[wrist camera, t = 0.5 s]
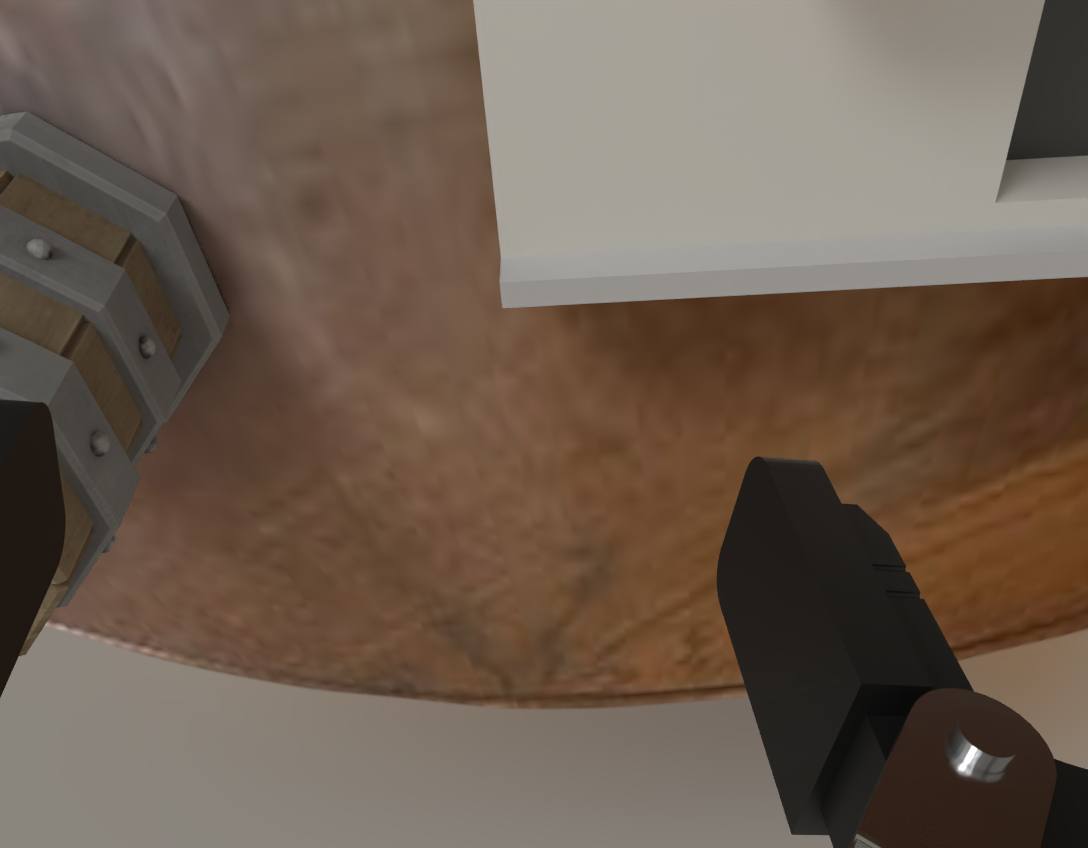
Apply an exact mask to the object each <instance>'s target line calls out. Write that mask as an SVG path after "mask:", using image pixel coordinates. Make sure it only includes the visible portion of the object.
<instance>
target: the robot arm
mask: <svg viewBox="0 0 1088 848" xmlns="http://www.w3.org/2000/svg"><path fill="white" fill-rule="evenodd" d="M65 529H66V515H65V506H64V499H63V492H62V485H61V477H60V470H59V463H58V456H57V449H56V442H55V435H54V428H53V421H52V416H51V413H50V410H49V408H48V406H47V405H46V404H45V403H43V402H31V401H17V400H3V399H0V697H1V695H2V692H3V690H4V688H5V685H6V683H7V681H8V679H9V677H10V674H11V672H12V670H13V668H14V665H15V663H16V660H17V659H18V656H19V654H20V652H21V650H22V647H23V645H24V643H25V641H26V638H27V636H28V634H29V632H30V629H31V627H32V625H33V623H34V620H35V618H36V616H37V614H38V611H39V609H40V607H41V605H42V602H43V600H44V598H45V596H46V593H47V591H48V589H49V587H50V584H51V582H52V580H53V577H54V575H55V573H56V571H57V568H58V566H59V563H60V559H61V556H62V551H63V546H64V539H65ZM905 568H906V565H905V563H904V562H903V560H902V558H901V556H900V554H899V552H898V551H897V549H896V547H895V545H894V543H893V541H892V539H891V538H890V536H889V534H888V533H887V532H886V531H885V530H884V529H883V528H882V527H881V526H879V525H878V524H877V523H876V522H875V521H874V520H873V519H872V518H871V517H870V516H869V515H868V514H867V513H865V512H864V511H863V510H862V509H861V508H860V507H859V506H858V505H853V504H841V502H840V500H839V498H838V496H837V494H836V492H835V490H834V488H833V486H832V484H831V482H830V480H829V478H828V476H827V474H826V472H825V470H824V468H823V467H822V465H821V464H820V463H819V462H817V461H811V460H797V459H784V458H770V457H755V458H754V459H753V460H752V461H751V462H750V464H749V466H748V467H747V470H746V473H745V476H744V479H743V482H742V485H741V488H740V491H739V494H738V498H737V501H736V504H735V507H734V510H733V513H732V516H731V519H730V523H729V526H728V529H727V532H726V535H725V538H724V541H723V544H722V548H721V551H720V555H719V560H718V567H717V591H718V598H719V603H720V606H721V610H722V613H723V616H724V619H725V622H726V626H727V629H728V632H729V635H730V638H731V642H732V645H733V648H734V651H735V654H736V658H737V661H738V664H739V667H740V670H741V674H742V677H743V680H744V683H745V687H746V690H747V693H748V696H749V699H750V702H751V706H752V709H753V712H754V715H755V718H756V722H757V725H758V728H759V731H760V735H761V738H762V741H763V744H764V747H765V751H766V754H767V757H768V760H769V763H770V767H771V770H772V773H773V776H774V779H775V783H776V786H777V789H778V792H779V795H780V799H781V802H782V805H783V808H784V811H785V815H786V818H787V821H788V824H789V827H790V830H791V834H792V835H829V836H830V838H831V842H832V844H833V847H834V848H1088V770H1087V769H1084V768H1080V767H1077V766H1074V765H1071V764H1067V763H1064V762H1062V761H1059V760H1056V759H1054V758H1053V755H1052V753H1051V751H1050V749H1049V747H1048V745H1047V744H1046V742H1045V741H1044V739H1043V738H1042V737H1041V735H1040V734H1039V733H1038V732H1037V731H1036V730H1035V729H1034V728H1033V726H1032V725H1031V724H1030V723H1029V722H1027V721H1026V720H1025V719H1024V718H1023V717H1022V716H1020V715H1019V714H1018V713H1016V712H1015V711H1014V710H1012V709H1011V708H1009V707H1007V706H1006V705H1004V704H1002V703H1001V702H999V701H997V700H995V699H992V698H990V697H988V696H986V695H983V694H980V693H977V692H974V691H973V689H972V687H971V685H970V683H969V681H968V680H967V678H966V676H965V674H964V672H963V671H962V669H961V667H960V665H959V663H958V661H957V659H956V657H955V656H954V654H953V652H952V650H951V648H950V646H949V644H948V643H947V641H946V639H945V637H944V635H943V633H942V632H941V630H940V628H939V626H938V624H937V622H936V621H935V619H934V617H933V615H932V613H931V611H930V609H929V608H928V606H927V604H926V602H925V600H924V599H920V591H919V589H918V587H917V586H916V584H915V582H914V580H913V578H912V576H911V574H910V573H909V572H906V571H905Z"/></svg>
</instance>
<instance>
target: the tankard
mask: <svg viewBox="0 0 1088 848" xmlns="http://www.w3.org/2000/svg"><path fill="white" fill-rule="evenodd" d="M229 318H230V315H229V313H228V311H227V308H226V306H225V304H224V302H223V299H222V297H221V295H220V292H219V290H218V288H217V286H216V283H215V281H214V279H213V276H212V274H211V272H210V270H209V267H208V265H207V263H206V260H205V258H204V256H203V253H202V251H201V249H200V247H199V244H198V242H197V240H196V237H195V235H194V233H193V231H192V228H191V226H190V224H189V221H188V219H187V217H186V215H185V212H184V210H183V208H182V205H181V203H180V201H179V198H178V196H177V195H176V194H174V193H172V192H171V191H169V190H167V189H165V188H163V187H162V186H160V185H158V184H156V183H155V182H153V181H151V180H149V179H147V178H146V177H144V176H142V175H140V174H138V173H137V172H135V171H133V170H131V169H129V168H128V167H126V166H124V165H122V164H121V163H119V162H117V161H115V160H113V159H112V158H110V157H108V156H106V155H104V154H103V153H101V152H99V151H97V150H95V149H94V148H92V147H90V146H88V145H87V144H85V143H83V142H81V141H79V140H78V139H76V138H74V137H72V136H70V135H69V134H67V133H65V132H63V131H61V130H60V129H58V128H56V127H54V126H52V125H51V124H49V123H47V122H45V121H44V120H42V119H40V118H38V117H36V116H35V115H33V114H31V113H29V112H27V111H26V112H20V113H13V114H7V115H1V116H0V399H3V400H17V401H31V402H43V403H45V404H46V405H47V406H48V408H49V410H50V413H51V416H52V421H53V428H54V435H55V442H56V449H57V456H58V463H59V470H60V477H61V485H62V492H63V499H64V506H65V515H66V529H65V539H64V546H63V551H62V556H61V559H60V563H59V566H58V568H57V571H56V573H55V575H54V577H53V580H52V582H51V584H50V587H49V589H48V591H47V593H46V596H45V598H44V600H43V602H42V605H41V607H40V609H39V611H38V614H37V616H36V618H35V620H34V623H33V625H32V627H31V629H30V632H29V634H28V636H27V638H26V641H25V643H24V645H23V647H22V650H21V652H20V654H19V656H21V655H26V653H27V652H28V650H29V648H30V647H31V645H32V644H33V642H34V641H35V639H36V638H37V636H38V635H39V633H40V632H41V630H42V628H43V627H44V625H45V624H46V622H47V621H48V619H49V618H50V616H51V615H52V613H53V612H54V610H55V609H56V607H63V606H67V605H68V603H69V602H70V600H71V599H72V597H73V596H74V594H75V593H76V591H77V590H78V588H79V587H80V585H81V584H82V582H83V581H84V579H85V578H86V576H87V575H88V573H89V572H90V570H91V569H92V567H93V565H94V564H95V562H96V561H97V559H98V558H99V556H100V555H101V553H105V552H109V551H110V550H111V549H112V548H113V547H114V545H115V537H114V534H115V532H116V531H117V529H118V528H119V526H120V524H121V522H122V519H123V517H124V515H125V512H126V510H127V508H128V505H129V503H130V501H131V498H132V496H133V494H134V491H135V489H136V487H137V484H138V482H139V479H140V477H139V475H138V473H137V472H136V470H135V468H134V467H135V466H136V464H137V463H138V461H139V460H140V458H141V457H142V455H143V453H149V452H152V451H153V450H154V449H155V448H156V445H157V439H156V437H155V435H156V433H157V431H158V430H159V428H160V427H161V425H162V424H163V423H167V422H168V420H169V419H170V417H171V416H172V414H173V413H174V411H175V409H176V408H177V406H178V405H179V403H180V402H181V400H182V399H183V397H184V395H185V394H186V392H187V391H188V389H189V388H190V386H191V384H192V383H193V381H194V380H195V378H196V377H197V375H198V374H199V372H200V370H201V369H202V367H203V366H204V364H205V363H206V361H207V360H208V358H209V356H210V355H211V353H212V352H213V350H214V349H215V347H216V346H217V344H218V342H219V341H220V339H221V338H222V336H223V333H224V331H225V328H226V326H227V323H228V321H229Z"/></svg>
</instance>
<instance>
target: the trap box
mask: <svg viewBox="0 0 1088 848" xmlns="http://www.w3.org/2000/svg"><path fill="white" fill-rule="evenodd" d="M473 2H474V11H475V20H476V30H477V39H478V48H479V57H480V67H481V76H482V85H483V94H484V104H485V113H486V122H487V131H488V141H489V150H490V159H491V168H492V178H493V187H494V196H495V205H496V215H497V224H498V233H499V243H500V252H501V268H500V290H501V299H502V308H515V307H533V306H552V305H571V304H589V303H608V302H626V301H645V300H663V299H682V298H700V297H719V296H738V295H756V294H775V293H793V292H812V291H830V290H849V289H868V288H886V287H905V286H923V285H942V284H960V283H979V282H997V281H1016V280H1035V279H1053V278H1072V277H1088V0H473Z"/></svg>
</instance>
